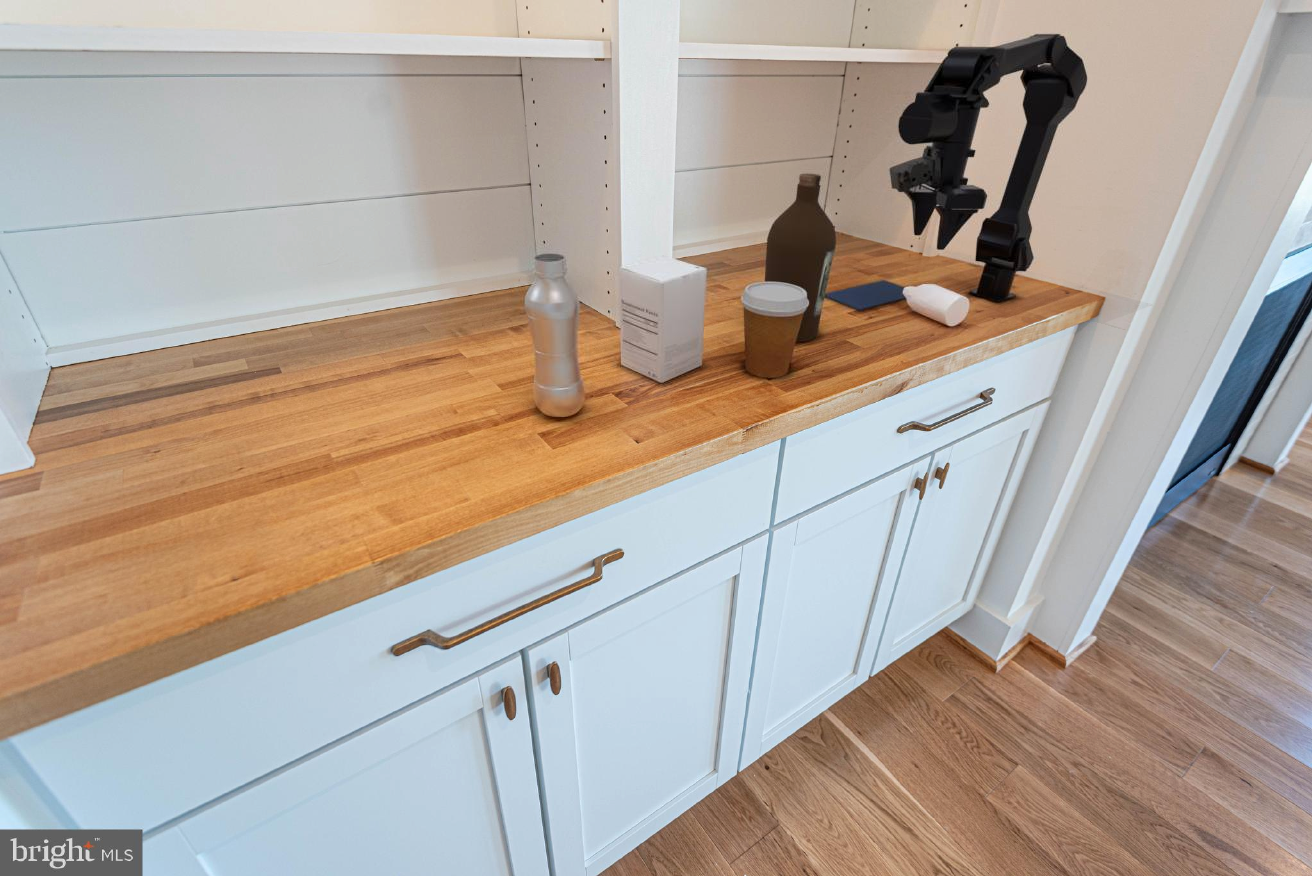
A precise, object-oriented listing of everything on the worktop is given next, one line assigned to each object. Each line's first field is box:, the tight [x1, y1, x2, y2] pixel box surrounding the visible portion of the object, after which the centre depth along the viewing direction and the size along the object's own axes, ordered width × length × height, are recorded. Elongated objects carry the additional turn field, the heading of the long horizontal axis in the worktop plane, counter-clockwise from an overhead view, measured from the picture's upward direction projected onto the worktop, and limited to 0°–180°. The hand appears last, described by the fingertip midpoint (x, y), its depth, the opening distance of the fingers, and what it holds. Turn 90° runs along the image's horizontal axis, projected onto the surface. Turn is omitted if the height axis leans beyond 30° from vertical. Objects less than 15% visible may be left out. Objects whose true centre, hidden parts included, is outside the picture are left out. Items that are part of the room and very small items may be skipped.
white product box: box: [618, 255, 708, 384], centre depth 91 cm, size 9×9×15 cm
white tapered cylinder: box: [903, 283, 970, 327], centre depth 115 cm, size 6×12×6 cm, turn 28°
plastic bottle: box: [524, 252, 586, 418], centre depth 78 cm, size 6×7×20 cm
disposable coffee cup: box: [740, 281, 809, 379], centre depth 92 cm, size 10×10×12 cm
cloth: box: [824, 280, 907, 311], centre depth 125 cm, size 18×10×1 cm, turn 123°
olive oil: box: [764, 173, 837, 344], centre depth 101 cm, size 11×11×25 cm
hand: (928, 242), depth 107 cm, fingers open, 9 cm apart
